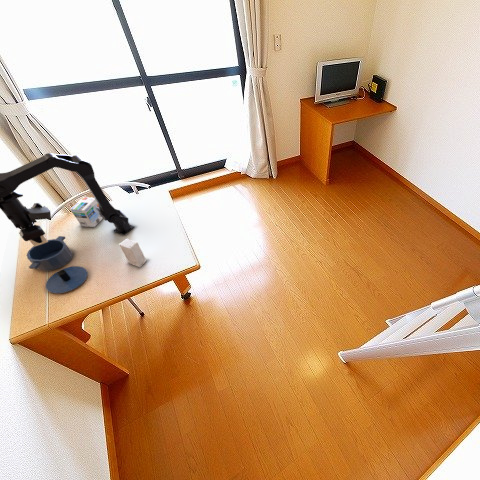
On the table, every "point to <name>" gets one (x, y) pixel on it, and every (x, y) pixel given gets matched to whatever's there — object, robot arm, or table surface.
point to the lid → (66, 279)
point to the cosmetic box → (132, 252)
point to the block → (41, 242)
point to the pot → (50, 255)
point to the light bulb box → (87, 212)
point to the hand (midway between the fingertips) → (38, 239)
